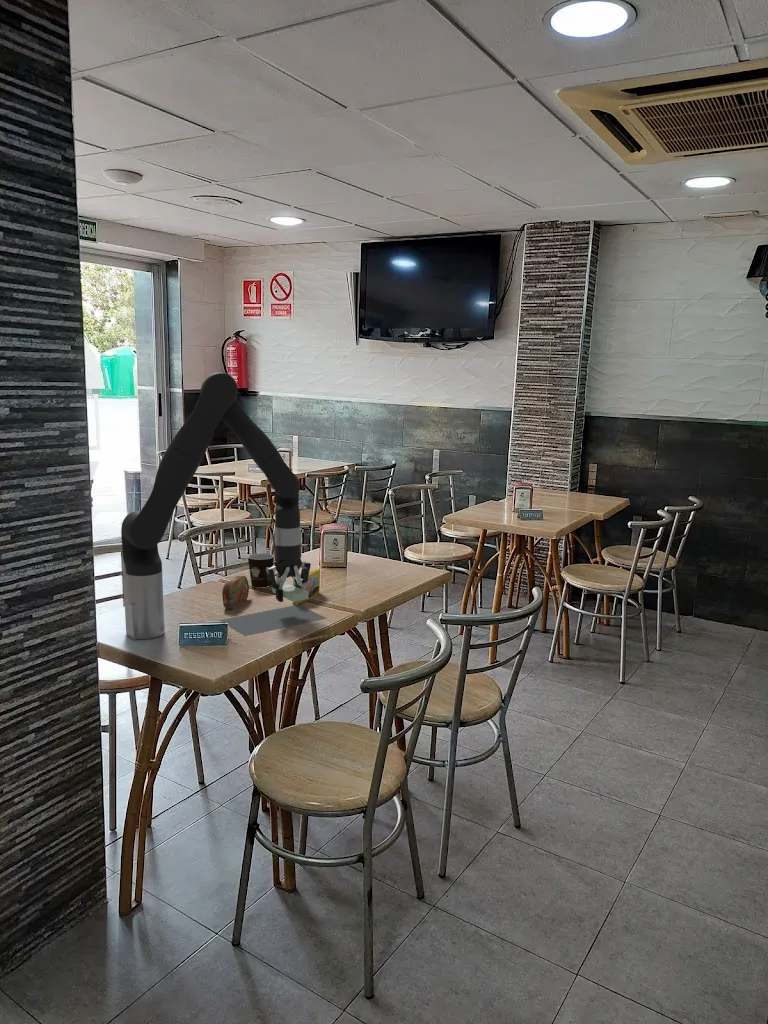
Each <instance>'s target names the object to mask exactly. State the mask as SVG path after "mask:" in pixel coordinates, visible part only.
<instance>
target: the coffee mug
mask: <svg viewBox="0 0 768 1024" xmlns="http://www.w3.org/2000/svg"><path fill="white" fill-rule="evenodd" d="M274 558H275V554H271V553H253V554H249V555H248V556H247V562H248V569H249V576H250V582H251V587H252V586H254V587H266V588H268V587H267V586H269V583H268V579H267V575H266V571H265V569H266V568H267V567H268V568H270V567H273V566H274V564H275V562H276V561H274ZM274 576H275V577H276V576H277V573H275V574H274ZM254 587H253V588H254Z"/></svg>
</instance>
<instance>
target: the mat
mask: <svg viewBox="0 0 768 1024" xmlns="http://www.w3.org/2000/svg"><path fill="white" fill-rule="evenodd" d="M326 619H328V617H326V616H324V615H322V614H319V613H317V612H315V611H313V610H310V609H308V608H306V607H304V606H302V605H300V604H298V605H294V604H293V605H291V606H290V605H288V606H285V607H279V608H274V609H268V610H264V611H260V612H255V613H254V612H253V613H249V614H248V613H247V614H245V615H239V616H233V617H228V618H224V619H219V620H218V621H219V622H221V623H223V622H227V623H228V625H229V626H228V625H227V626H228V627H229V628H231V629H232V630H234V631H236V632H238V634H241V635H242V636H244V637H246V636H251V635H255V634H260V633H264V632H270V631H274V630H275V631H276V630H279V629H284V628H289V627H293V626H298V625H302V624H303V625H304V624H307V623H312V622H317V621H321V620H326Z"/></svg>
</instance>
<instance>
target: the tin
mask: <svg viewBox="0 0 768 1024" xmlns="http://www.w3.org/2000/svg"><path fill="white" fill-rule="evenodd" d="M249 588H250V586H249V580H248V578H247V576H246V575H242V576H241V575H238V576H234V577H233V578H232V579H230V580H229V581H226V583H225V584H224V585H223V587H222V592H221V594H222V604H223V607H224V608H225V609H226V610H228V609H229V610H234V608H236V607H237V606H239V604H242V602H245V601H246V602H247V601H248V597H249V592H250V589H249Z"/></svg>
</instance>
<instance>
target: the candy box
mask: <svg viewBox="0 0 768 1024" xmlns="http://www.w3.org/2000/svg"><path fill="white" fill-rule="evenodd" d="M292 581H293V583H292V585H293V586H294V585H295V583H294V580H292ZM320 582H321V569H320V568H313V569H312V570H310V571H309V576H308V581H307V583H304V584H302V586H301V589H302V590H305V591H307V592H308V599H306V600H300V601H295V602H292V605H293V606H294V605H300V604H301V603H302V604H304V603H305V602H307V601H308V600H310V599H312V598H314V597H315V596H317V595H319V594H320V585H321V583H320ZM313 596H314V597H313ZM311 597H312V598H311Z"/></svg>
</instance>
